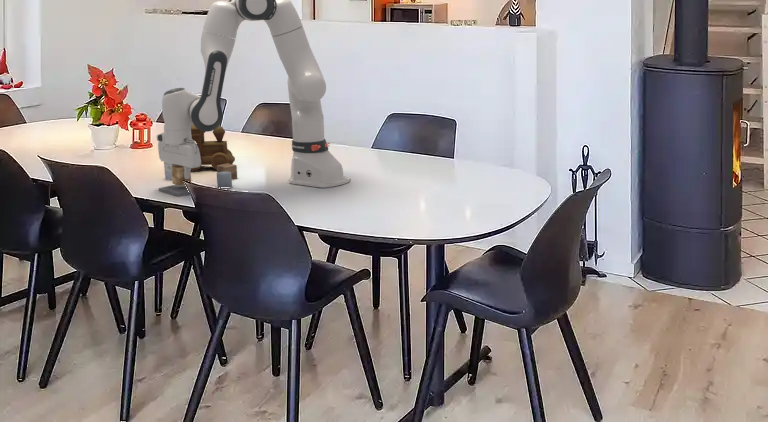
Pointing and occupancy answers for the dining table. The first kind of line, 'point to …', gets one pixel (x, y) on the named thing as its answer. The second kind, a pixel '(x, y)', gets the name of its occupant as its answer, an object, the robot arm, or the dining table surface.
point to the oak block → (178, 175)
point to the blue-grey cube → (224, 179)
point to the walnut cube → (228, 169)
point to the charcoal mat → (175, 190)
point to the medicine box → (167, 171)
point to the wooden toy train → (212, 148)
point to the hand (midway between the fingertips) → (181, 177)
